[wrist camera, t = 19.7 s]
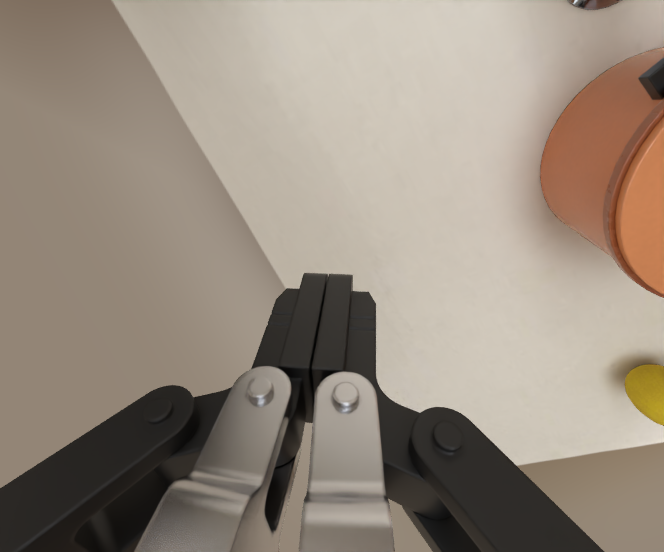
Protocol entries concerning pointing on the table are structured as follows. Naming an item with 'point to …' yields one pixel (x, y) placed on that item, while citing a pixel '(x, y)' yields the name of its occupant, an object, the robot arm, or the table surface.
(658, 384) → the lemon
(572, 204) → the copper pot
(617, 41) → the table surface
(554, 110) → the table surface
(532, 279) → the table surface
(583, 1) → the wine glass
